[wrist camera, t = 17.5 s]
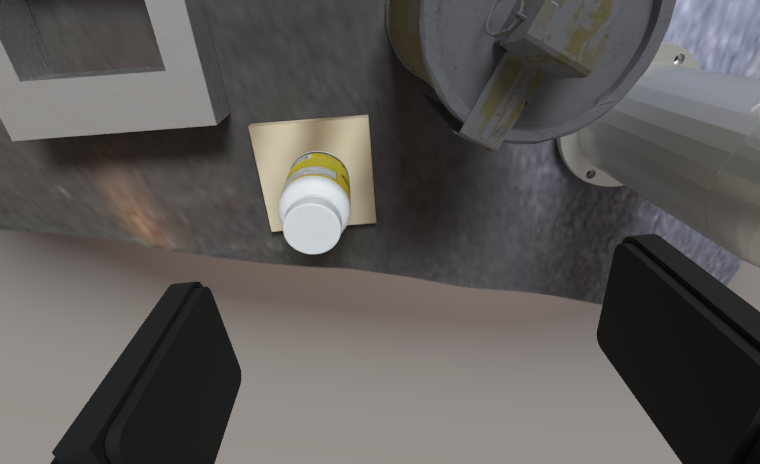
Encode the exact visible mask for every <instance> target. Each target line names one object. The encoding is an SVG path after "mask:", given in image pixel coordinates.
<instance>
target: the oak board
mask: <svg viewBox="0 0 760 464" xmlns="http://www.w3.org/2000/svg"><path fill="white" fill-rule="evenodd" d="M249 132H250V136H251V141H252V145H253V150H254V154H255V159H256V163H257V168H258V172H259V177H260V181H261V186H262V190H263V195H264V199H265V204H266V208H267V213H268V217H269V222H270V227H271V231H272V232H275V231H283V226H282V224H281V222H280V219H279V214H278V205H279V200H280V196H281V193H282V190H283V188H284V185H285V182H286V179H287V176H288V173H289V170H290V168H291V166H292V164H293V163H294V161H295V160H296V159H297V158H298V157H300V156H301V155H303V154H305V153H307V152H311V151H325V152H328V153H331V154H333V155H335V156H336V157H338V158H339V159H340V160H341V161H342V162H343V163H344V165H345V166H346V168H347V171H348V174H349V179H350V203H351V212H350V219H349V222H348V224H347V225H356V224H368V223H376V212H375V199H374V185H373V172H372V158H371V145H370V131H369V118H368V115H358V116H345V117H332V118H320V119H307V120H294V121H281V122H268V123H256V124H250V126H249Z"/></svg>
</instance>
